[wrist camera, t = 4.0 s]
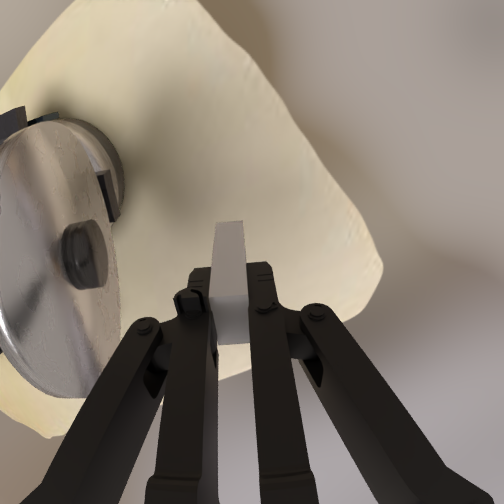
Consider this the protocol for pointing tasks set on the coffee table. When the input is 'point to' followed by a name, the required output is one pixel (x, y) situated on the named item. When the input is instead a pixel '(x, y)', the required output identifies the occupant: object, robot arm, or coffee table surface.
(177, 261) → the coffee table surface
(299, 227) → the coffee table surface
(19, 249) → the lid
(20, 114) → the cooker
